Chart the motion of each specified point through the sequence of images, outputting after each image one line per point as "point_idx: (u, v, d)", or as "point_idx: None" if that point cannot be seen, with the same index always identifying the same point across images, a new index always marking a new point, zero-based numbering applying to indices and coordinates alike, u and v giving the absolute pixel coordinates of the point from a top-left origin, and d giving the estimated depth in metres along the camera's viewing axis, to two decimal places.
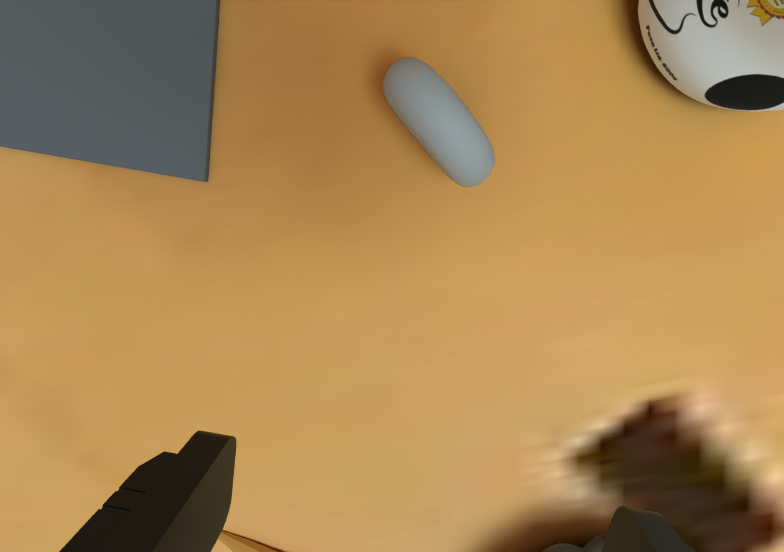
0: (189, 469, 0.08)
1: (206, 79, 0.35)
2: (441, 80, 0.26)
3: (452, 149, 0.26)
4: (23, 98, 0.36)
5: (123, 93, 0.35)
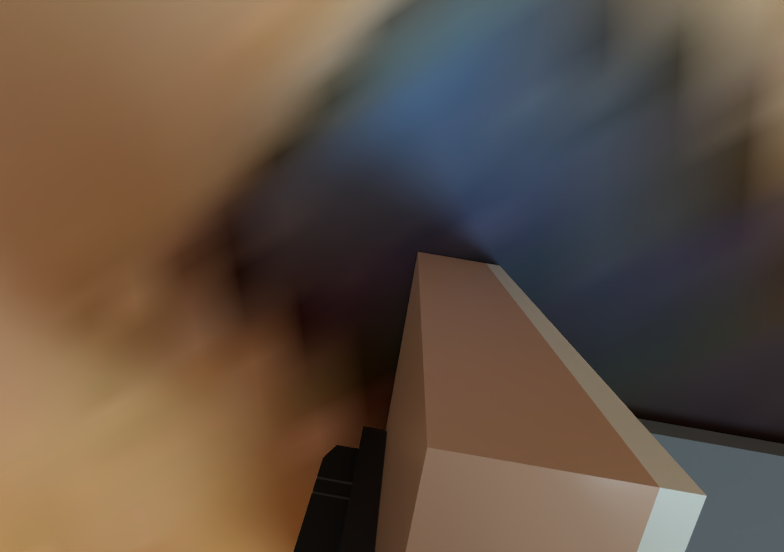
0: (376, 460, 0.09)
1: None
2: None
3: None
4: None
5: None
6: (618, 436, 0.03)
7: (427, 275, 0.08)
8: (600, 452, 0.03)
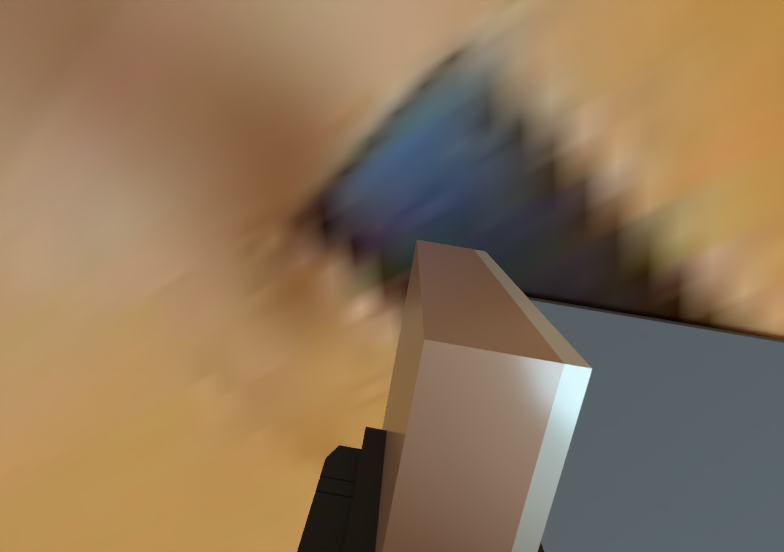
0: (379, 460, 0.09)
1: None
2: None
3: None
4: None
5: None
6: (547, 344, 0.05)
7: (424, 255, 0.09)
8: (533, 348, 0.05)
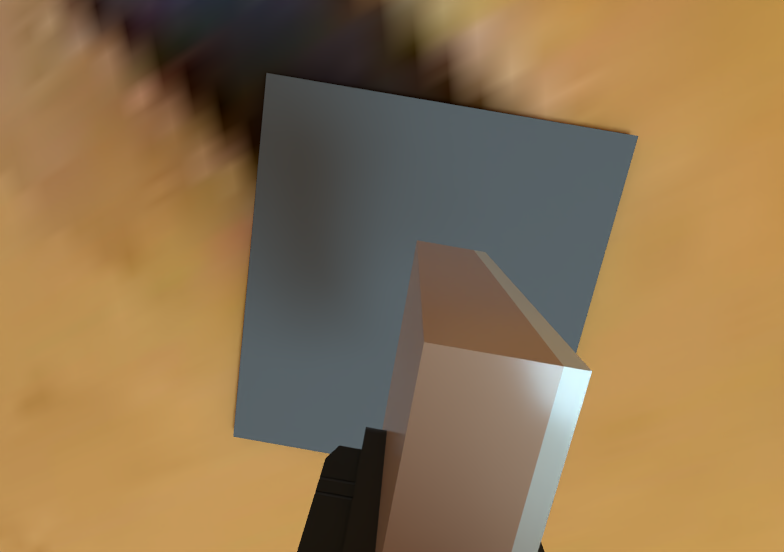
0: (379, 460, 0.09)
1: None
2: None
3: None
4: (289, 382, 0.25)
5: None
6: (547, 346, 0.05)
7: (424, 256, 0.09)
8: (532, 351, 0.05)
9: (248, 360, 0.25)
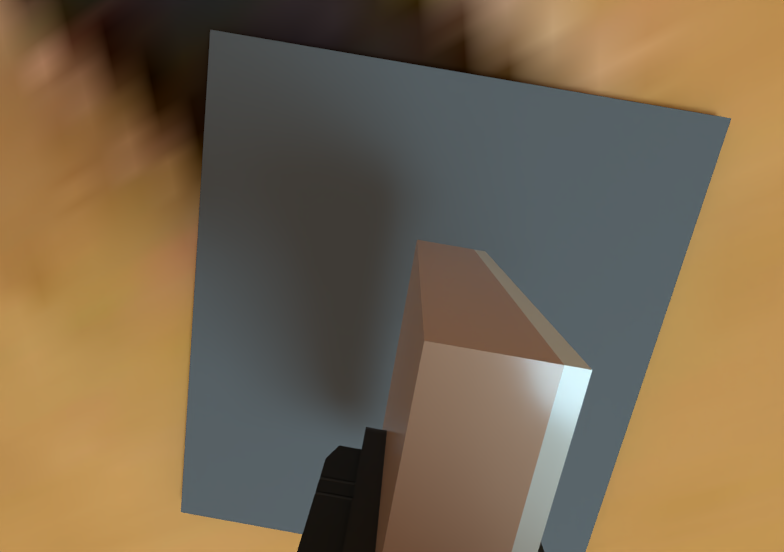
0: (378, 460, 0.09)
1: (616, 428, 0.18)
2: None
3: None
4: (251, 445, 0.19)
5: None
6: (547, 345, 0.05)
7: (424, 256, 0.09)
8: (533, 349, 0.05)
9: (197, 416, 0.19)
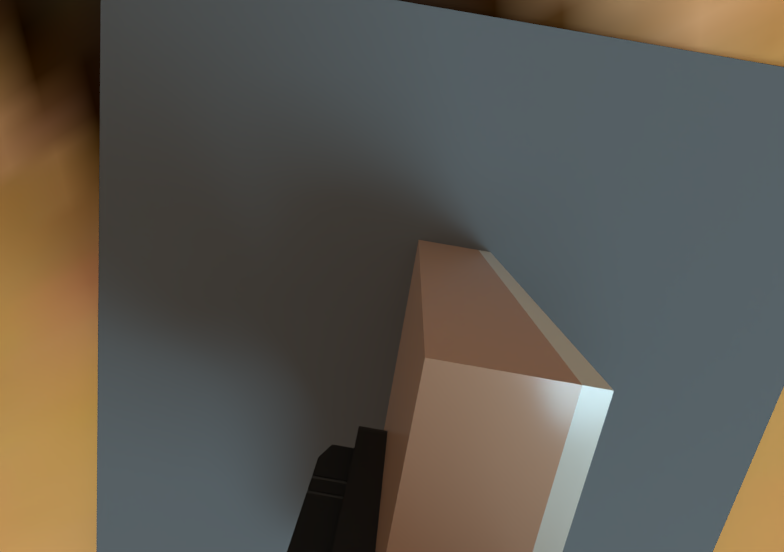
0: (371, 459, 0.09)
1: (703, 538, 0.13)
2: None
3: None
4: (187, 551, 0.14)
5: None
6: (561, 360, 0.05)
7: (426, 257, 0.09)
8: (546, 366, 0.04)
9: (112, 512, 0.13)
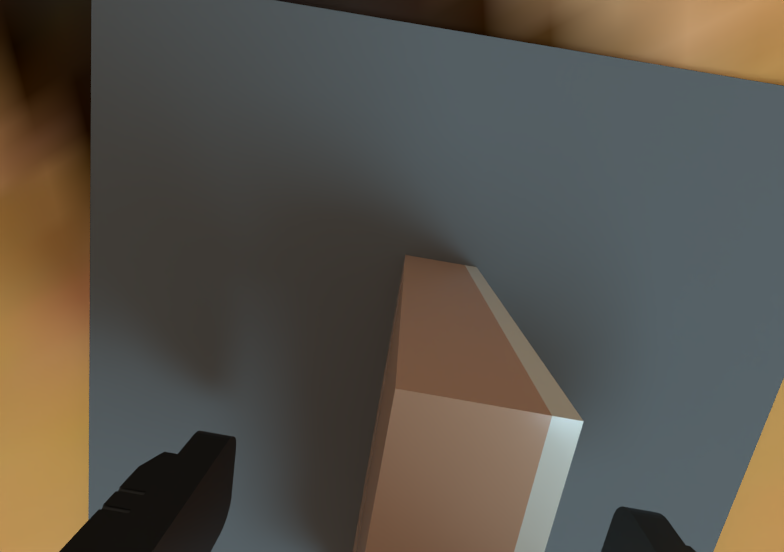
0: (189, 469, 0.08)
1: (699, 550, 0.13)
2: None
3: None
4: None
5: None
6: (534, 387, 0.05)
7: (410, 275, 0.09)
8: (517, 395, 0.04)
9: None
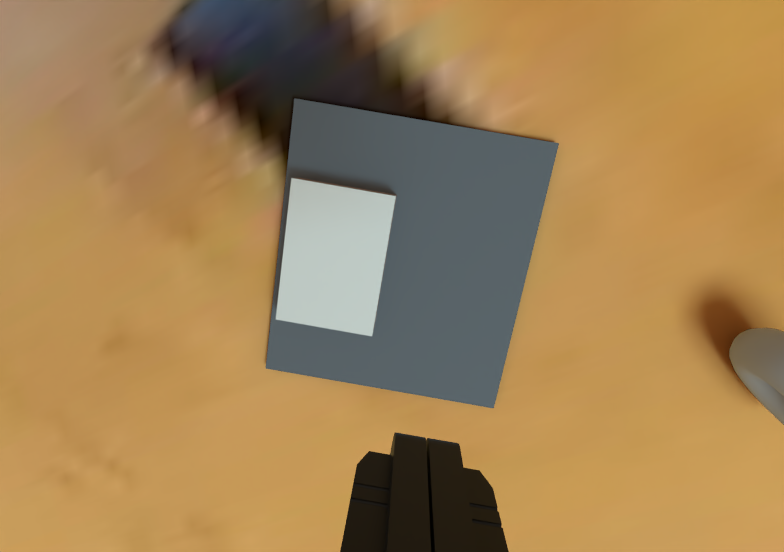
0: (412, 467, 0.09)
1: (511, 312, 0.33)
2: None
3: None
4: (308, 325, 0.34)
5: (419, 323, 0.33)
6: (301, 179, 0.30)
7: (366, 189, 0.31)
8: (297, 178, 0.30)
9: None
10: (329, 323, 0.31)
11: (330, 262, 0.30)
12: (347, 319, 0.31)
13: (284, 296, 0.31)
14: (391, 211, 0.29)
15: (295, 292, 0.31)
